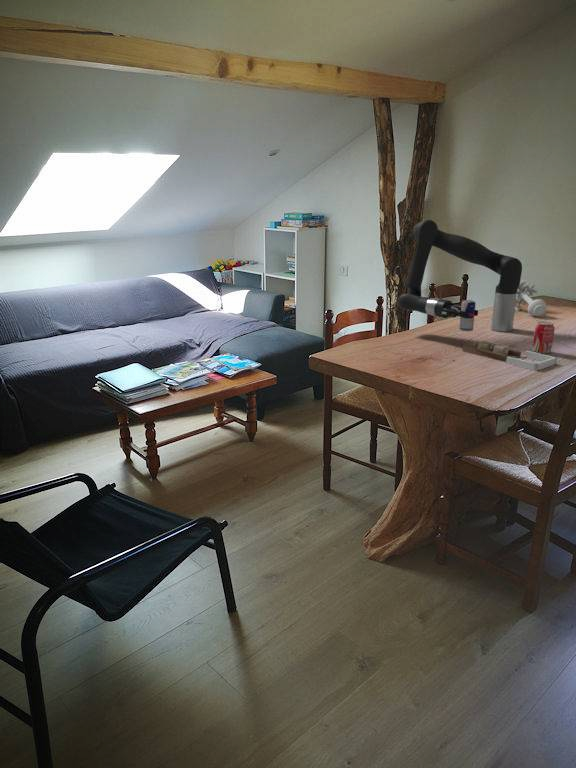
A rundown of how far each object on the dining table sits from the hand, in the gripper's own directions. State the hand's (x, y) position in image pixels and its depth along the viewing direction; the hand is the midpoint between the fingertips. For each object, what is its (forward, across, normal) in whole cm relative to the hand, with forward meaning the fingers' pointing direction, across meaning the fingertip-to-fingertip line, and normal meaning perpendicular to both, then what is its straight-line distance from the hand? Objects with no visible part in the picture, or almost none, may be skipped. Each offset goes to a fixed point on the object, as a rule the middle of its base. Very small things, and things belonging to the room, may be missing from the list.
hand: (473, 314), depth 227 cm
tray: (+27, 0, +14) cm, 31 cm away
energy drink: (-3, 0, +7) cm, 8 cm away
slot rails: (+10, 0, +14) cm, 18 cm away
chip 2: (+14, 0, +14) cm, 20 cm away
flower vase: (-24, +84, +16) cm, 88 cm away
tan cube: (+7, 0, +14) cm, 16 cm away
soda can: (+21, +18, +15) cm, 31 cm away
